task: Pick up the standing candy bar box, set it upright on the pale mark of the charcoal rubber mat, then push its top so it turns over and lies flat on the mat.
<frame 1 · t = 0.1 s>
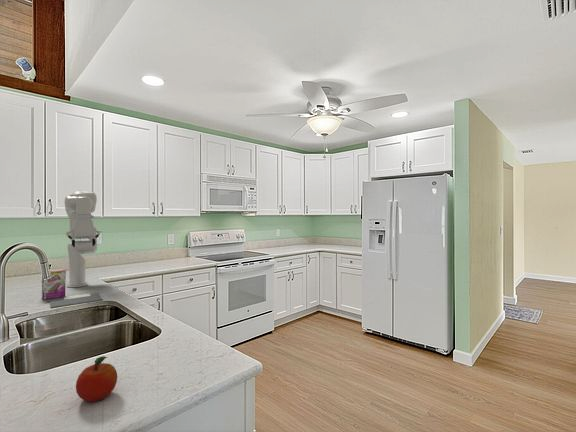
hand: (83, 246, 181), 31 cm above the worktop, tool pointing down, fingers open, 9 cm apart
candy bar box: (53, 298, 184), on the worktop
mat: (76, 300, 178), on the worktop
fruit: (96, 398, 82), on the worktop
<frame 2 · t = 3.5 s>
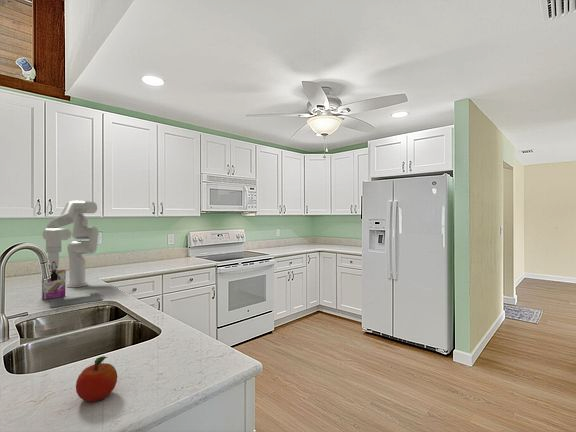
hand: (53, 279, 184), 11 cm above the worktop, tool pointing down, fingers closed on candy bar box, 5 cm apart
candy bar box: (53, 298, 184), on the worktop, touching gripper
everything else where it was.
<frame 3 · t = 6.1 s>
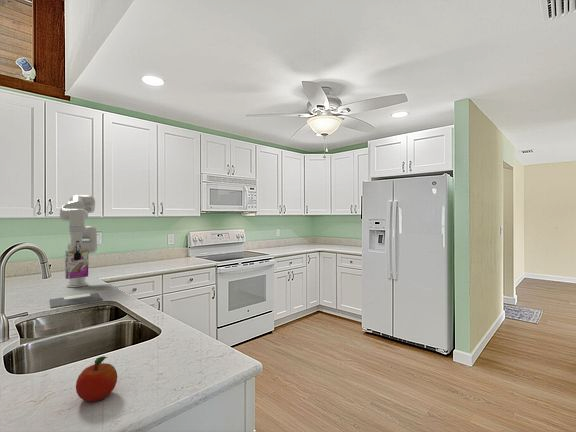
hand: (77, 259, 184), 23 cm above the worktop, tool pointing down, fingers closed on candy bar box, 5 cm apart
candy bar box: (77, 277, 184), point 12 cm above the worktop, touching gripper
everything else where it was.
when the fingers open (13 cm above the worktop, at t = 8.7 s): candy bar box stays where it is, resting on mat.
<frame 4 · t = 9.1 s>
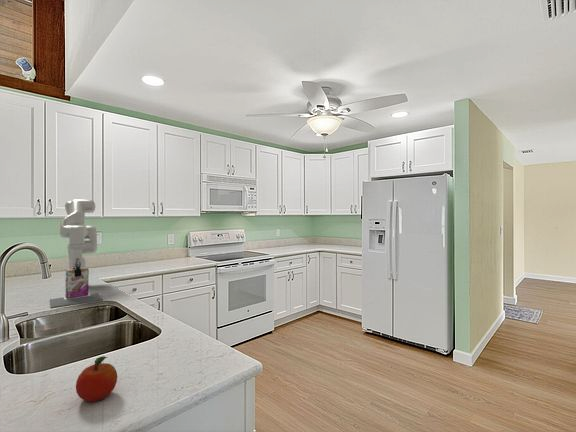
hand: (77, 275, 184), 14 cm above the worktop, tool pointing down, fingers open, 9 cm apart
candy bar box: (77, 296, 184), resting on mat
everything else where it was.
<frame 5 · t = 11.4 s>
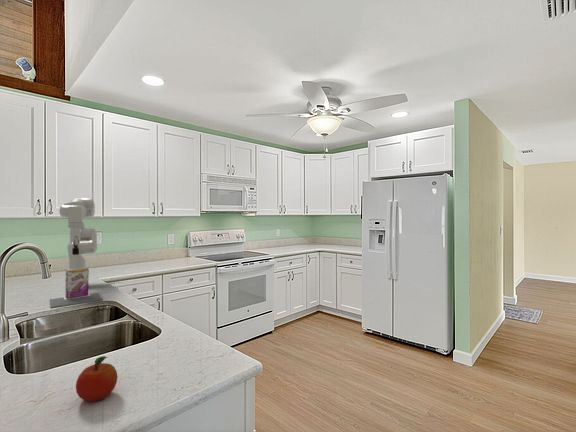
hand: (75, 254, 192), 25 cm above the worktop, tool pointing down, fingers closed
nothing on the worktop moved.
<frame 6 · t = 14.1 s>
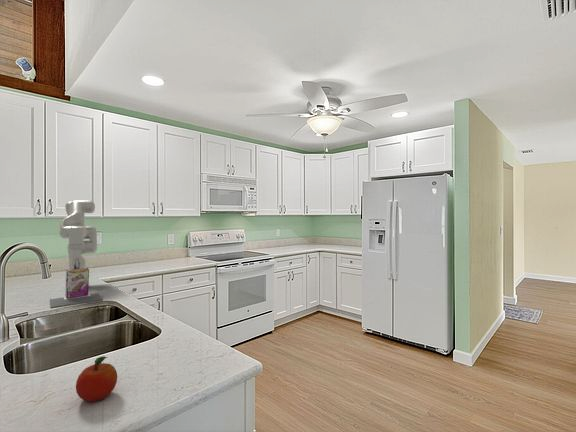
hand: (76, 276, 187), 12 cm above the worktop, tool pointing down, fingers closed
candy bar box: (77, 296, 184), point 1 cm above the worktop, touching gripper, mat
everything else where it was.
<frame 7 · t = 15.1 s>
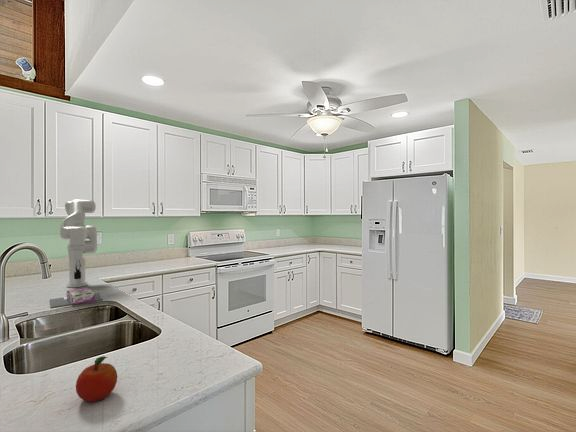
hand: (77, 278, 182), 12 cm above the worktop, tool pointing down, fingers closed
candy bar box: (77, 293, 183), point 3 cm above the worktop, touching mat
everything else where it was.
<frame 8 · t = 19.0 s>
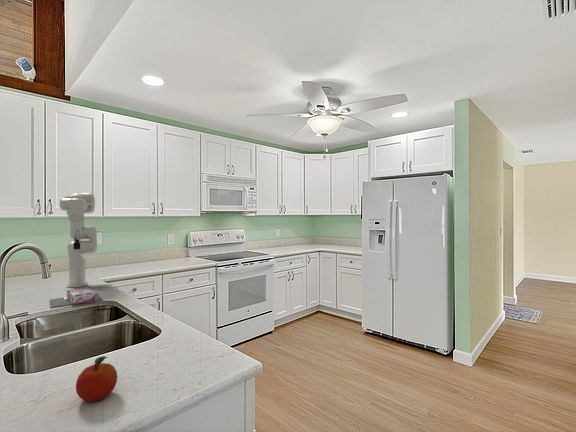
hand: (76, 249, 185), 29 cm above the worktop, tool pointing down, fingers closed
nothing on the worktop moved.
at the end: candy bar box tilted 90°; candy bar box inside the target area (5.5 cm from its centre), point 3.0 cm above the worktop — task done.
